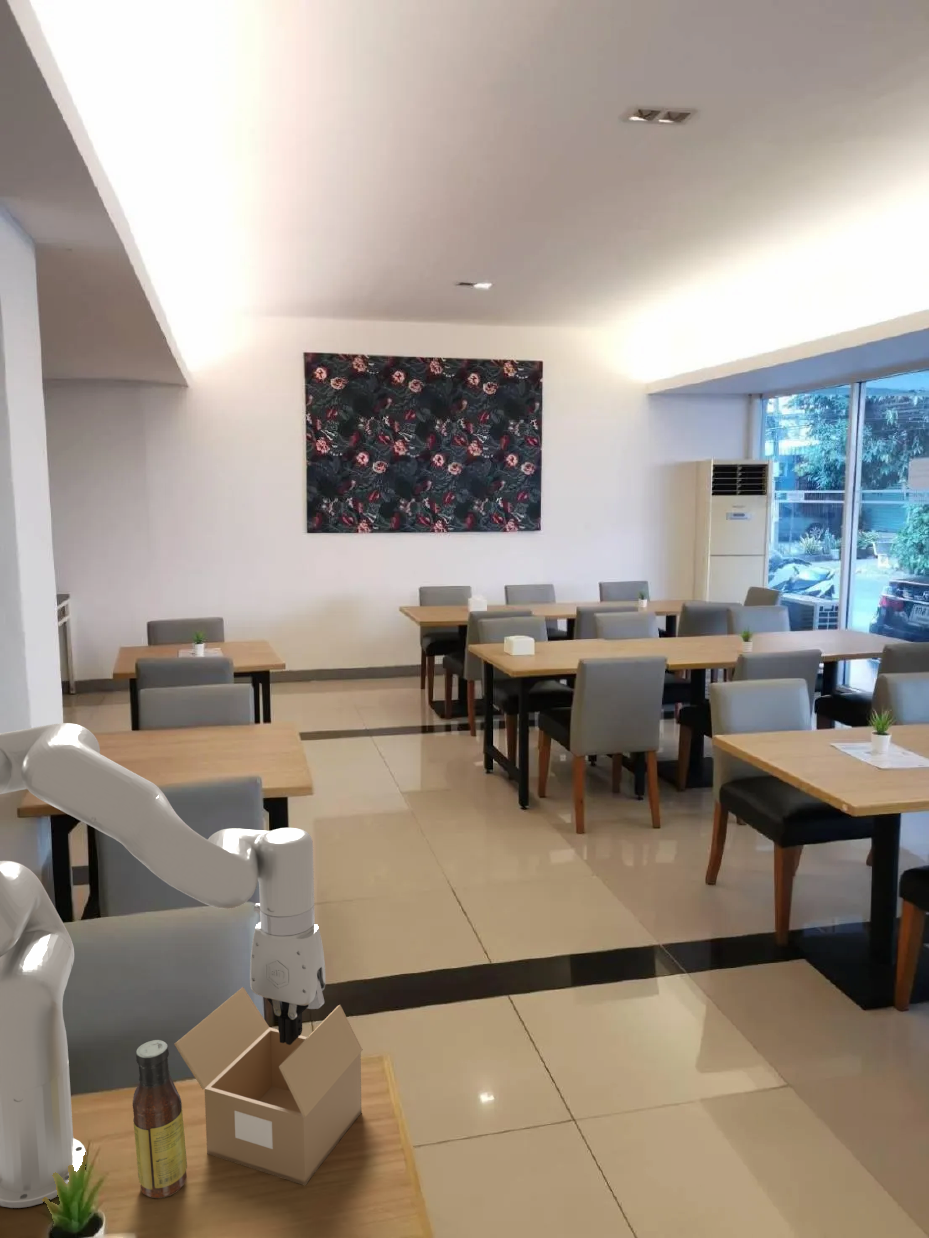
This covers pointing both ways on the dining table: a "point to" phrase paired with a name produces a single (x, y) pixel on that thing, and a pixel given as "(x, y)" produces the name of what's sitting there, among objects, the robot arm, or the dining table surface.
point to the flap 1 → (221, 1037)
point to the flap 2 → (320, 1060)
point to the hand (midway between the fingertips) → (290, 1038)
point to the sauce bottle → (158, 1124)
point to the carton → (276, 1113)
